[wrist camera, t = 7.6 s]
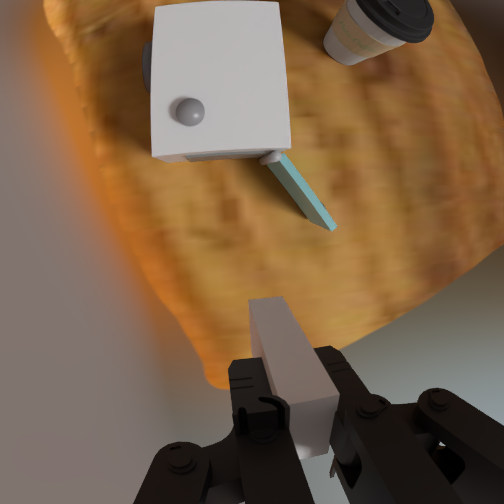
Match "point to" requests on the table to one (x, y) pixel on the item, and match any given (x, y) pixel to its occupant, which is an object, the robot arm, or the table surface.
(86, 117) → the table surface
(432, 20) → the coffee cup
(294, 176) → the side door
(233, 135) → the cabinet body
